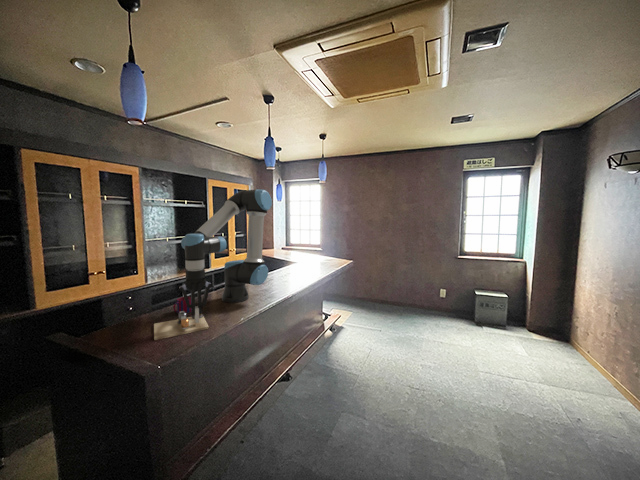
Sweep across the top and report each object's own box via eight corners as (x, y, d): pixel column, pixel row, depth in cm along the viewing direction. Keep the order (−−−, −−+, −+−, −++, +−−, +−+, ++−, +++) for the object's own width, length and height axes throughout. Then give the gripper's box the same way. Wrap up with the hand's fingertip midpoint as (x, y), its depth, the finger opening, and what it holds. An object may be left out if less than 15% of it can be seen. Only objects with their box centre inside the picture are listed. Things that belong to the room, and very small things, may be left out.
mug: (195, 310, 133) (194, 297, 132) (178, 317, 124) (177, 303, 123) (185, 308, 136) (185, 296, 135) (168, 315, 126) (167, 301, 126)
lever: (185, 316, 120) (185, 308, 120) (189, 329, 107) (189, 320, 107) (177, 318, 119) (177, 309, 118) (181, 330, 105) (180, 321, 105)
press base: (202, 316, 125) (202, 307, 124) (208, 328, 111) (208, 318, 111) (154, 325, 114) (153, 315, 113) (154, 340, 100) (153, 329, 100)
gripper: (209, 266, 117) (211, 316, 119) (177, 269, 110) (179, 322, 112) (213, 269, 111) (214, 321, 113) (179, 272, 104) (181, 328, 106)
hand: (196, 321), depth 112 cm, fingers closed
